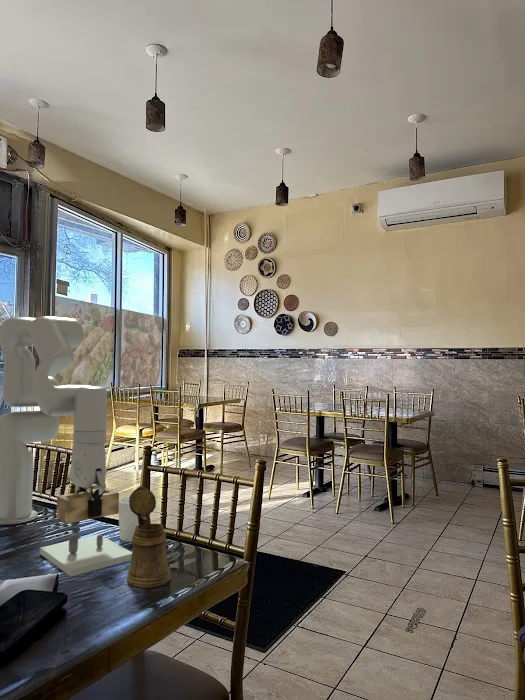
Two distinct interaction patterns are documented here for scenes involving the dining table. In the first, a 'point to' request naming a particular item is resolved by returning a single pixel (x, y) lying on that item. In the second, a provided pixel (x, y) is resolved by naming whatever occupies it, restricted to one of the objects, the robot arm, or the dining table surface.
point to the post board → (85, 554)
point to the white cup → (126, 520)
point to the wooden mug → (147, 544)
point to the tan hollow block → (85, 505)
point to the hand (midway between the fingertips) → (88, 512)
